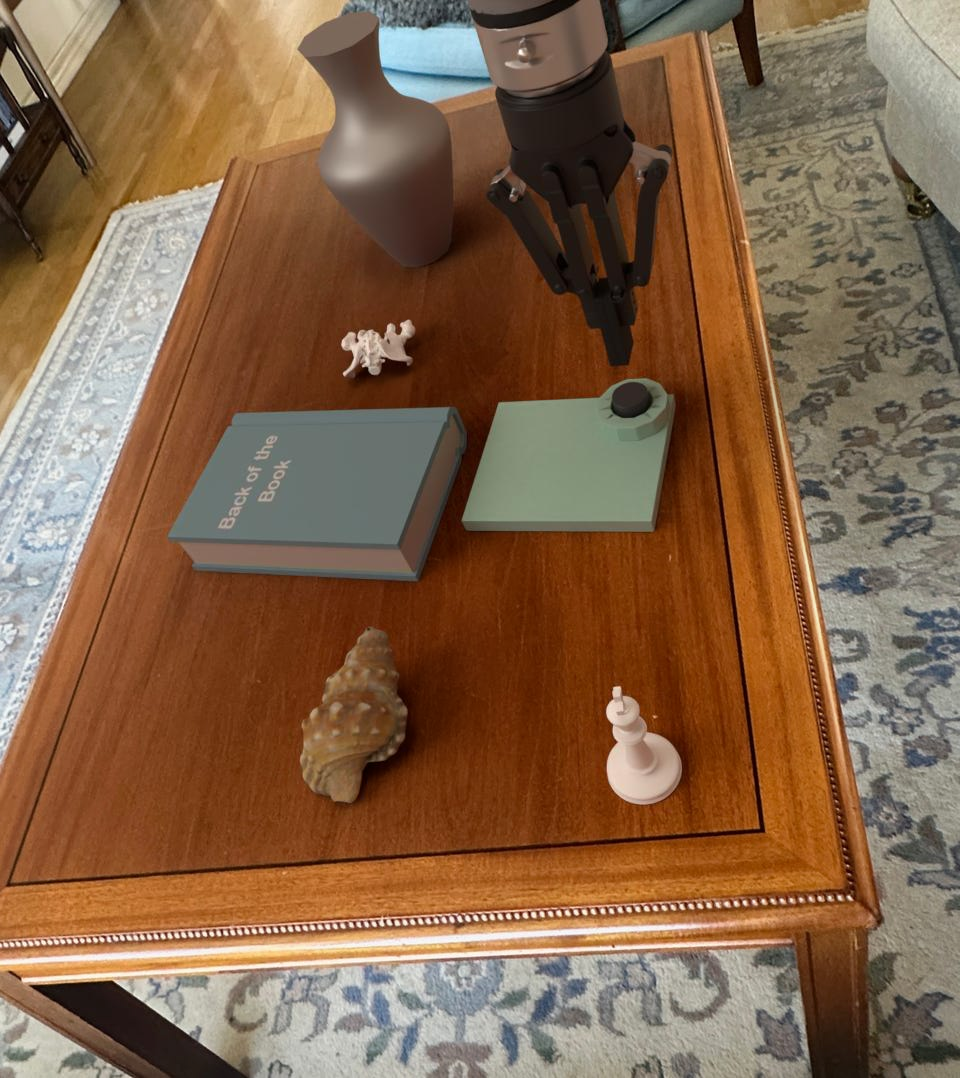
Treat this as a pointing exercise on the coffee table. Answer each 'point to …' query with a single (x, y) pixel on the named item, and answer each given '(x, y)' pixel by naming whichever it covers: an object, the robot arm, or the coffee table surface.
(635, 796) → the chess piece
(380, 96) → the vase
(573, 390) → the coffee table surface
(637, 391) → the button
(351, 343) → the pelvis model
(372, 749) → the seashell
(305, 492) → the book
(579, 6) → the robot arm
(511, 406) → the scale
